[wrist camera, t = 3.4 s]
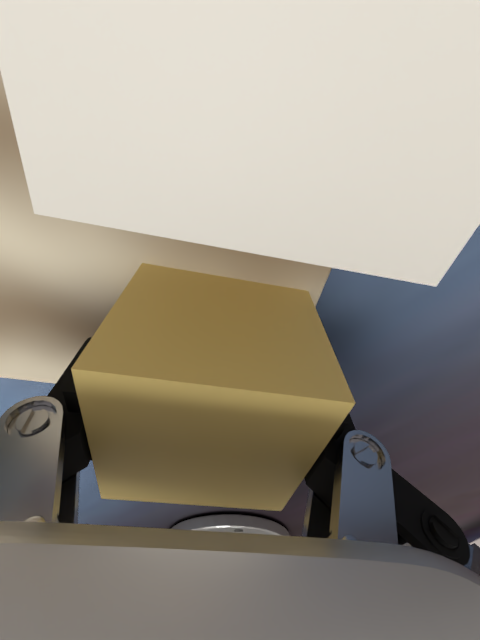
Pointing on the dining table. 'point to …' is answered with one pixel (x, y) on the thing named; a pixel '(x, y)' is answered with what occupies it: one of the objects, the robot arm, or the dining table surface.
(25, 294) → the build board
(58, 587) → the robot arm
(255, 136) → the cream block
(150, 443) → the mustard block
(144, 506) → the dining table surface
